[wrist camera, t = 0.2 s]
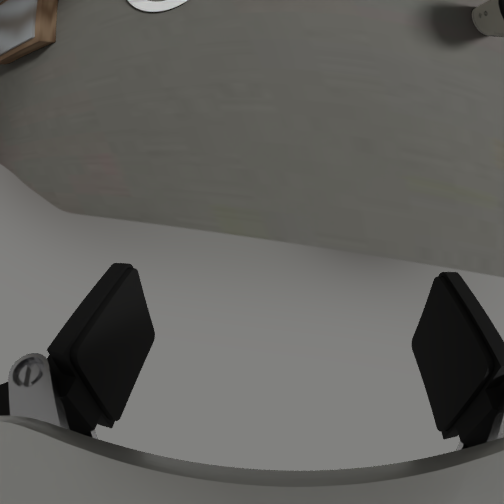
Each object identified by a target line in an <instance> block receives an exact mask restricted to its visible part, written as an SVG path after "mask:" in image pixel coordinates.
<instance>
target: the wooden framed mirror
mask: <svg viewBox="0 0 504 504" xmlns="http://www.w3.org/2000/svg"><path fill="white" fill-rule="evenodd" d="M57 6H58V0H4V1H3V2H1V3H0V65H1V64H9V63H11V62H13V61H15V60H17V59H19V58H21V57H23V56H25V55H27V54H29V53H31V52H33V51H36V50H38V49H40V48H42V47H45V46H47V45H49V44H52V43H54V42H55V40H56V19H57Z"/></svg>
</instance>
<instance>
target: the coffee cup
mask: <svg viewBox="0 0 504 504" xmlns="http://www.w3.org/2000/svg"><path fill="white" fill-rule="evenodd" d="M472 21H473V23H474V25H475V26H476V28H477V29H478V30H479V31H480V32H481V33H482V34H484V35H487V36H496V37H504V0H489V1H487V2H485V3H483V4H482V5H480V6H478V7H476V8H475V9H473V11H472Z"/></svg>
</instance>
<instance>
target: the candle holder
mask: <svg viewBox="0 0 504 504" xmlns="http://www.w3.org/2000/svg"><path fill="white" fill-rule="evenodd" d="M186 1H187V0H165V1H160V2H152V1H147V0H128V2H129V3H130V4H131V5H132V6H134V7H135V8H137V9H140V10H143V11H148V12H159V11H165V10H168V9H172V8H174V7H177V6H179V5H181V4H183V3H184V2H186Z"/></svg>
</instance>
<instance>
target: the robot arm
mask: <svg viewBox="0 0 504 504" xmlns="http://www.w3.org/2000/svg"><path fill="white" fill-rule="evenodd" d="M154 337H155V332H154V328H153V325H152V321H151V318H150V315H149V312H148V308H147V304H146V300H145V297H144V293H143V290H142V286H141V282H140V278H139V274H138V271H137V270H136V269H134V268H133V266H132V265H131V264H124V263H114V264H113V265H111V267H110V268H109V269H108V270H107V272H106V273H105V274H104V275H103V276H102V278H101V279H100V280H99V281H98V282H97V284H96V285H95V286H94V287H93V289H92V290H91V291H90V293H89V294H88V295H87V296H86V298H85V299H84V300H83V301H82V303H81V304H80V305H79V307H78V308H77V309H76V311H75V312H74V313H73V315H72V316H71V317H70V318H69V320H68V321H67V323H66V324H65V325H64V327H63V328H62V329H61V331H60V332H59V333H58V335H57V336H56V338H55V339H54V340H53V342H52V343H51V345H50V346H49V347H48V349H47V351H48V352H49V354H50V355H49V356H48V358H47V359H46V358H45V357H44V356H43V355H41V354H38V353H32V354H28V355H25V356H23V357H21V358H20V359H19V360H17V361H16V362H15V364H14V365H13V366H12V368H11V370H10V372H9V379H8V382H6V383H4V384H1V385H0V504H504V342H503V340H502V338H501V337H500V335H499V333H498V332H497V330H496V329H495V327H494V325H493V323H492V322H491V320H490V319H489V317H488V316H487V314H486V313H485V311H484V309H483V308H482V306H481V305H480V303H479V302H478V300H477V299H476V297H475V296H474V294H473V293H472V292H471V290H470V289H469V287H468V286H467V284H466V283H465V282H464V280H463V279H462V277H461V276H460V275H459V274H458V273H456V272H442V273H440V274H439V276H438V277H436V278H435V279H434V281H433V284H432V287H431V290H430V293H429V296H428V299H427V302H426V305H425V308H424V311H423V313H422V316H421V318H420V321H419V324H418V326H417V329H416V331H415V334H414V336H413V339H412V350H413V353H414V355H415V358H416V361H417V364H418V367H419V370H420V373H421V376H422V379H423V382H424V385H425V388H426V392H427V395H428V398H429V402H430V405H431V408H432V412H433V415H434V419H435V423H436V426H437V429H438V430H439V431H442V435H443V439H447V438H451V437H455V436H458V435H459V437H460V442H459V445H458V447H457V449H456V451H454V452H450V453H446V454H442V455H438V456H433V457H428V458H424V459H419V460H413V461H408V462H402V463H397V464H389V465H382V466H374V467H365V468H354V469H341V470H320V471H278V470H258V469H244V468H233V467H224V466H216V465H208V464H201V463H195V462H189V461H183V460H178V459H173V458H167V457H163V456H158V455H154V454H149V453H145V452H141V451H137V450H133V449H129V448H125V447H122V446H119V445H115V444H112V443H108V442H105V441H102V440H98V438H97V435H96V433H95V430H94V429H95V427H96V425H97V424H99V425H102V426H106V427H109V428H112V427H113V424H114V422H115V421H118V420H119V419H120V417H121V415H122V412H123V410H124V408H125V406H126V403H127V401H128V398H129V396H130V394H131V391H132V389H133V387H134V384H135V382H136V380H137V378H138V375H139V373H140V371H141V368H142V366H143V364H144V361H145V359H146V357H147V355H148V353H149V351H150V348H151V346H152V344H153V341H154Z"/></svg>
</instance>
